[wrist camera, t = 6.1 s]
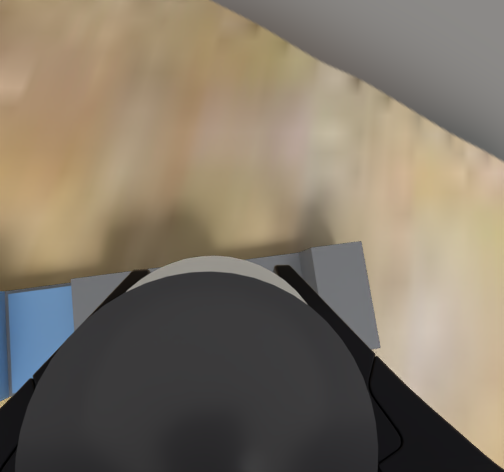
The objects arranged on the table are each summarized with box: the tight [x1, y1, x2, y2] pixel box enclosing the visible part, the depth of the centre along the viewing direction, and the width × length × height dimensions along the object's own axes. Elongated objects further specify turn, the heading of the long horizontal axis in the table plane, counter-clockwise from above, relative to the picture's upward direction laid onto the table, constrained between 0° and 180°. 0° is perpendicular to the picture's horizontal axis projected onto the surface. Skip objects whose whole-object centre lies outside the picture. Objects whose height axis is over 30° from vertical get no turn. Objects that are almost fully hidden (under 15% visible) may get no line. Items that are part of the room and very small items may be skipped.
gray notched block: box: [0, 241, 380, 401], centre depth 20 cm, size 6×24×4 cm, turn 98°
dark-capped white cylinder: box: [15, 256, 378, 472], centre depth 9 cm, size 3×3×13 cm
